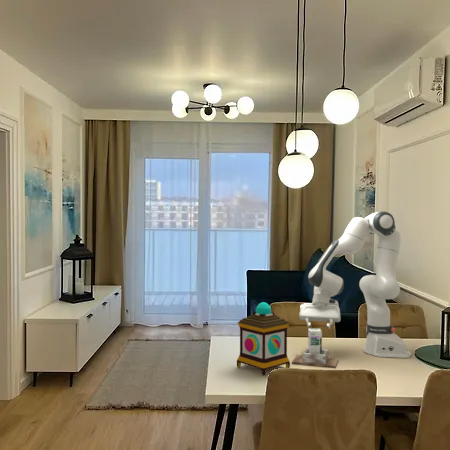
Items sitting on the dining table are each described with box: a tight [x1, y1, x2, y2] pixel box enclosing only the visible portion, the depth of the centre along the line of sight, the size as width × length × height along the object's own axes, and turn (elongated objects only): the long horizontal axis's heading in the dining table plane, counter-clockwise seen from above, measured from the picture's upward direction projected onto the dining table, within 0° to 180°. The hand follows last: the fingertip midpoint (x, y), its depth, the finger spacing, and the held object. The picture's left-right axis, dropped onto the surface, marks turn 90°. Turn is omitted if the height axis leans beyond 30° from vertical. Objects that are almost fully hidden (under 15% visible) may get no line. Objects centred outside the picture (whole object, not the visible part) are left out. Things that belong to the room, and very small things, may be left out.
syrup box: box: [307, 328, 323, 354], centre depth 227 cm, size 6×6×14 cm
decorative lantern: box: [236, 301, 291, 377], centre depth 217 cm, size 20×20×30 cm
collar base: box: [291, 347, 339, 369], centre depth 227 cm, size 20×13×5 cm, turn 71°
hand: (318, 327), depth 235 cm, fingers open, 8 cm apart
